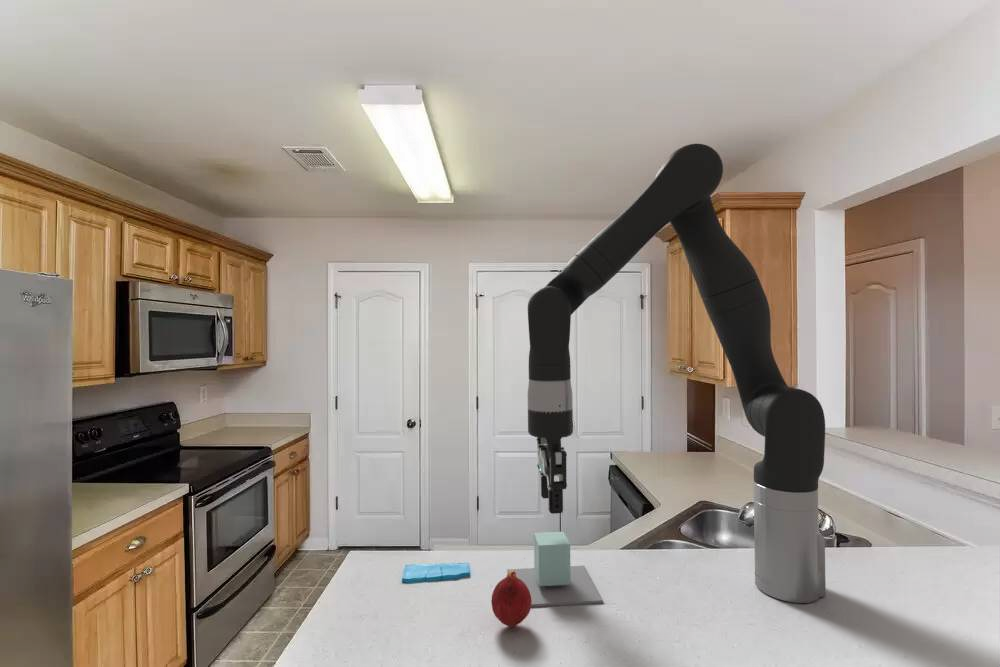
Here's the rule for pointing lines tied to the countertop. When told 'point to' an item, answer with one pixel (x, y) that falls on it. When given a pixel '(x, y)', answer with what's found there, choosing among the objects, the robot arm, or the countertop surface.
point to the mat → (561, 589)
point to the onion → (511, 600)
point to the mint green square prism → (552, 558)
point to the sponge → (435, 572)
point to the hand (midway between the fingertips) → (551, 504)
